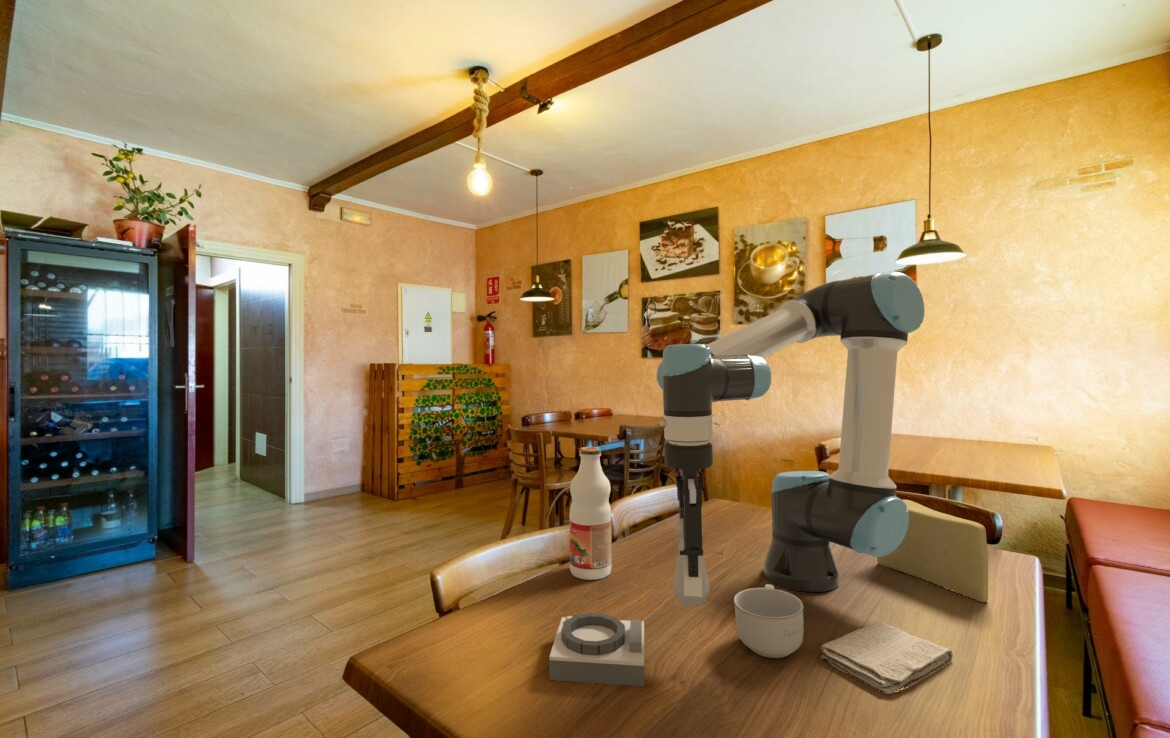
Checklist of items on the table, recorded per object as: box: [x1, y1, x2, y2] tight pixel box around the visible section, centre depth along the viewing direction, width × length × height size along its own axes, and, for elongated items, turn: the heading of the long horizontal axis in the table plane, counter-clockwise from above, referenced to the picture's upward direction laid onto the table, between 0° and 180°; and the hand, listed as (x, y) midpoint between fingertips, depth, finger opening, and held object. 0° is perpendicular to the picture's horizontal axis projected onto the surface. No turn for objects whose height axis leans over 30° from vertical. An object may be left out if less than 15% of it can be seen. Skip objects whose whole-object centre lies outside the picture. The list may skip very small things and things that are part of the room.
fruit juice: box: [569, 446, 612, 581], centre depth 116 cm, size 9×9×28 cm
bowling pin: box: [672, 518, 710, 607], centre depth 82 cm, size 6×6×13 cm
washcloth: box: [820, 621, 954, 695], centre depth 82 cm, size 12×18×3 cm, turn 122°
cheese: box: [876, 499, 989, 603], centre depth 111 cm, size 22×10×15 cm, turn 15°
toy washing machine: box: [548, 612, 645, 687], centre depth 82 cm, size 14×12×5 cm
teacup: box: [733, 584, 804, 659], centre depth 86 cm, size 14×11×8 cm
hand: (691, 585), depth 82 cm, fingers closed on bowling pin, 6 cm apart
